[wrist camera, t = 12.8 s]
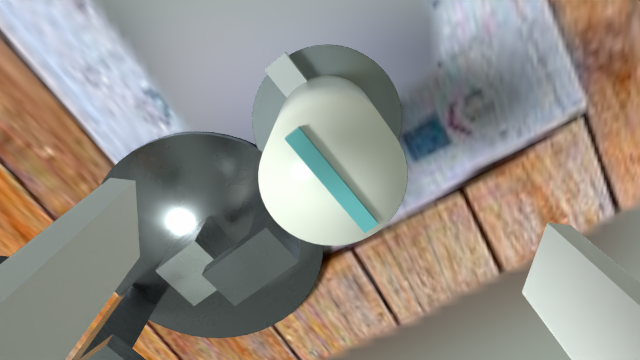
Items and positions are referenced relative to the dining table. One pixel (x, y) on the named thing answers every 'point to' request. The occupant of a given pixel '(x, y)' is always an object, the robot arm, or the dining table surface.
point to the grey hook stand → (202, 247)
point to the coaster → (329, 63)
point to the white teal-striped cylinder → (329, 160)
